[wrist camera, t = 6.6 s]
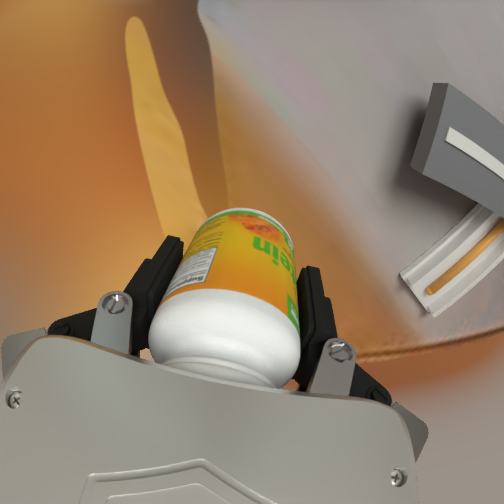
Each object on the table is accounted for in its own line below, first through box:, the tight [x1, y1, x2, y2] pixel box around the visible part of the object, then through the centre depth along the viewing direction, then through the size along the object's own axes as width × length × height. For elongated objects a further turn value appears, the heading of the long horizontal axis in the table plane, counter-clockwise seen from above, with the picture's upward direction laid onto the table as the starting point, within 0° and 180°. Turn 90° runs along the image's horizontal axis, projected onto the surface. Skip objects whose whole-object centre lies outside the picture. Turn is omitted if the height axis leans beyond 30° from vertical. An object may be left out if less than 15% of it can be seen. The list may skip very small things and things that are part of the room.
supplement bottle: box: [148, 208, 300, 389], centre depth 11 cm, size 5×5×10 cm
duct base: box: [400, 203, 504, 318], centre depth 24 cm, size 22×9×2 cm, turn 138°
